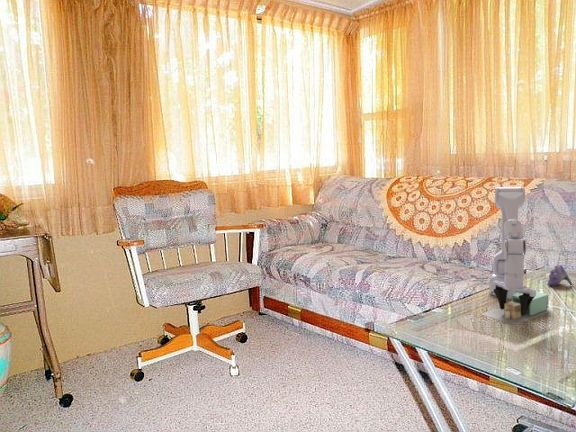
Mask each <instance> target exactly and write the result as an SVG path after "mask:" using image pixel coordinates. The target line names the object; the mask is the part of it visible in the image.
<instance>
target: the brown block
mask: <svg viewBox="0 0 576 432" xmlns="http://www.w3.org/2000/svg"><path fill="white" fill-rule="evenodd" d="M505 310H509V311H510V318H511V319H516V318H519V317H521V304H519V303H515V302H512V300H511V301H508V302H506V303H505ZM504 316H505V311H504Z"/></svg>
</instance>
